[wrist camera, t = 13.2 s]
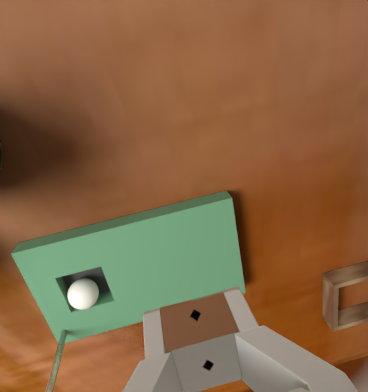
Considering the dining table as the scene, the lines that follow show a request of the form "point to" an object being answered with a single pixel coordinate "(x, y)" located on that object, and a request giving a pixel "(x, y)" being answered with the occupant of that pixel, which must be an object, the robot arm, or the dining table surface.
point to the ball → (83, 293)
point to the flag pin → (56, 362)
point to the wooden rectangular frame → (331, 292)
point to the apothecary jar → (1, 156)
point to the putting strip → (134, 264)
